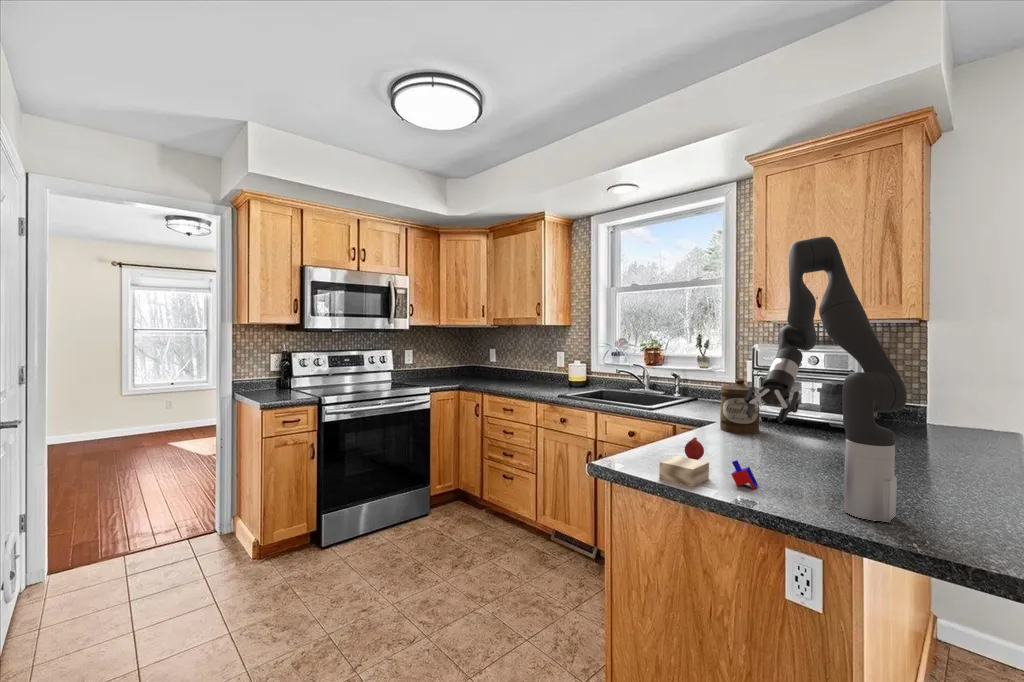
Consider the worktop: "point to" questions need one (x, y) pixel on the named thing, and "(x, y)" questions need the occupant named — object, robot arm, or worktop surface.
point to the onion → (694, 449)
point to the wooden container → (737, 410)
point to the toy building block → (743, 476)
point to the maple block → (684, 470)
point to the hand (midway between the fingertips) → (764, 418)
